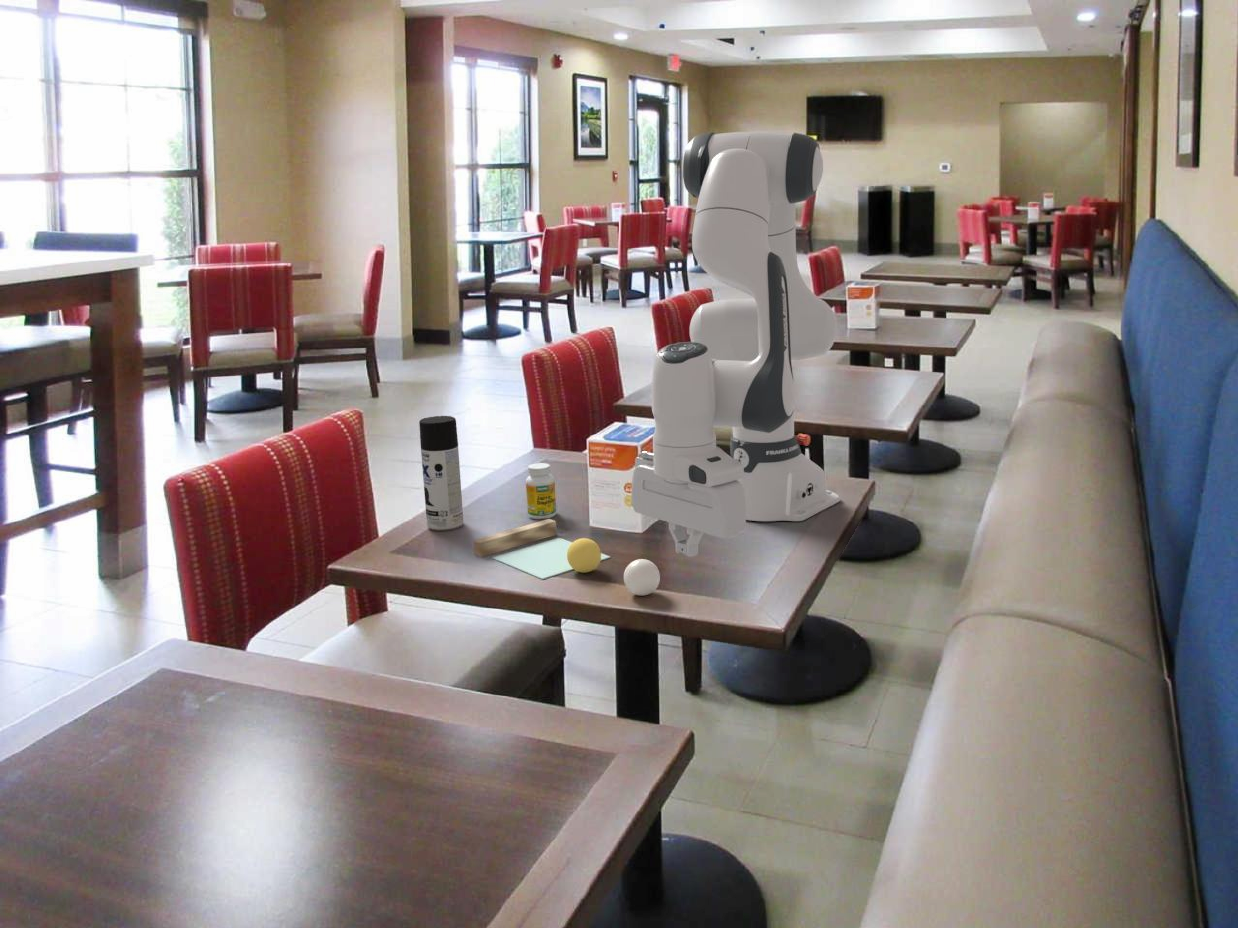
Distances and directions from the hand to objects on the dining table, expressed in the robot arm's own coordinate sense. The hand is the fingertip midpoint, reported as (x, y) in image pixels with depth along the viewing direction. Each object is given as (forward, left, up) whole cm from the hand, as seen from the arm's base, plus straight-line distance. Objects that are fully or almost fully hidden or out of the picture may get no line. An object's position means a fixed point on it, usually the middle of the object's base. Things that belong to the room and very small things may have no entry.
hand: (686, 554), depth 166 cm
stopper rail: (0, -43, -9) cm, 44 cm away
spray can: (+3, -61, -9) cm, 62 cm away
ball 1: (0, -24, -6) cm, 25 cm away
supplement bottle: (-13, -53, -9) cm, 56 cm away
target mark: (0, -33, -9) cm, 35 cm away
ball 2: (0, -10, -6) cm, 12 cm away
